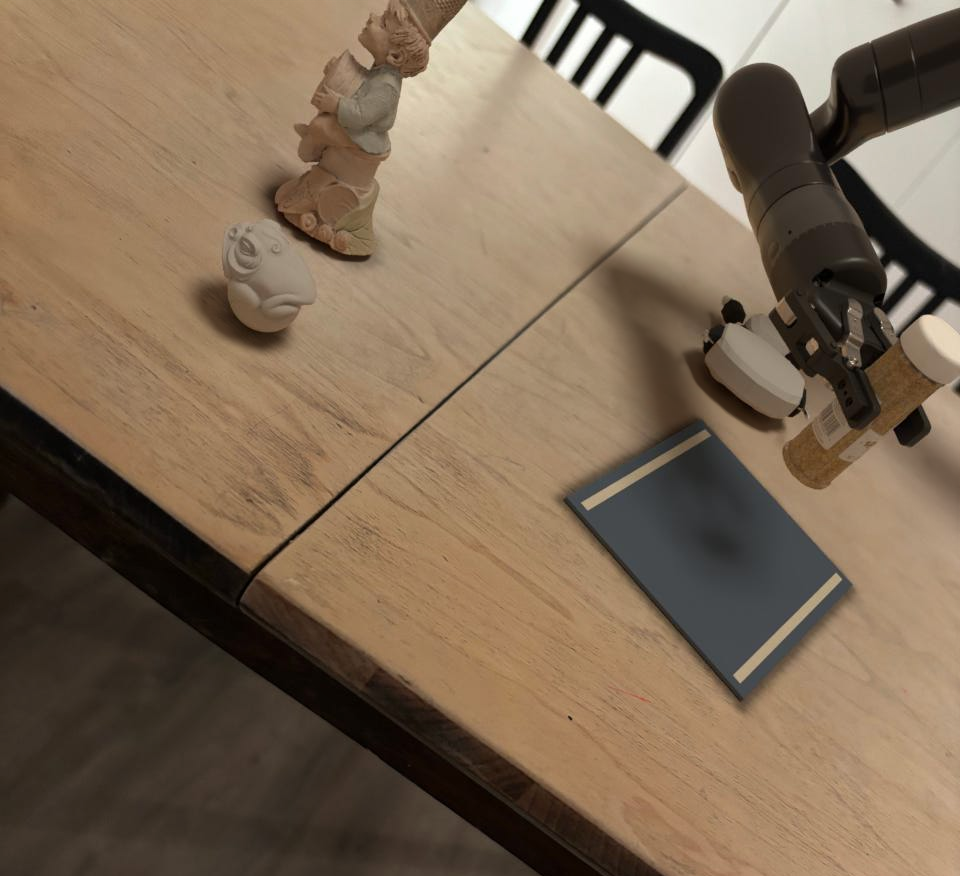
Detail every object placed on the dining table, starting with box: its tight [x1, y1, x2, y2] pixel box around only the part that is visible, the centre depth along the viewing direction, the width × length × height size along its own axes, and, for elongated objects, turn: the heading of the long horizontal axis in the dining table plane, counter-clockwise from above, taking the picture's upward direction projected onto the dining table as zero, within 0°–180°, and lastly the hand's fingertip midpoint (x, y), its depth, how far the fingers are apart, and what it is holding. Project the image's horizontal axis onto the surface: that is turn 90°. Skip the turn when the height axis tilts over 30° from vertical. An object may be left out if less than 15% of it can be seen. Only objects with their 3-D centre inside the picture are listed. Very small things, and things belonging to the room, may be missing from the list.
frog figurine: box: [221, 218, 318, 333], centre depth 66 cm, size 6×7×7 cm
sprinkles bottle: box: [781, 314, 960, 491], centre depth 68 cm, size 5×5×14 cm
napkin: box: [563, 418, 853, 702], centre depth 80 cm, size 22×20×1 cm
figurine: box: [274, 0, 469, 256], centre depth 71 cm, size 9×8×20 cm
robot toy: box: [701, 294, 811, 421], centre depth 96 cm, size 12×4×15 cm
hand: (892, 429), depth 66 cm, fingers closed on sprinkles bottle, 4 cm apart
